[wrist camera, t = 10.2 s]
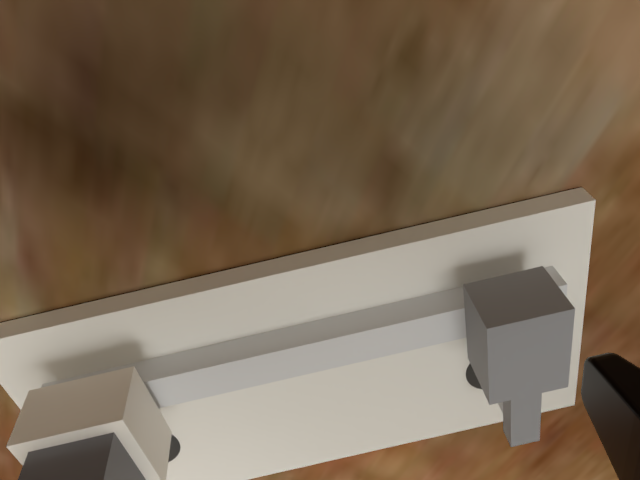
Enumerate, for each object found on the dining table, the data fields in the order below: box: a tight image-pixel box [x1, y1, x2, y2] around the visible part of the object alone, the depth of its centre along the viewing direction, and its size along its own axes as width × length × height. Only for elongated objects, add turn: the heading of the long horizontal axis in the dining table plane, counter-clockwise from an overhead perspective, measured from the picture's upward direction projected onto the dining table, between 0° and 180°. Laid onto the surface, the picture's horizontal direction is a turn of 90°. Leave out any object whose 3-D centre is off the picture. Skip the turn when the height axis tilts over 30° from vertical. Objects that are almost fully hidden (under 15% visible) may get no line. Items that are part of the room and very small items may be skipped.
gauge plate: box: [0, 187, 596, 480], centre depth 23 cm, size 12×24×5 cm, turn 101°
